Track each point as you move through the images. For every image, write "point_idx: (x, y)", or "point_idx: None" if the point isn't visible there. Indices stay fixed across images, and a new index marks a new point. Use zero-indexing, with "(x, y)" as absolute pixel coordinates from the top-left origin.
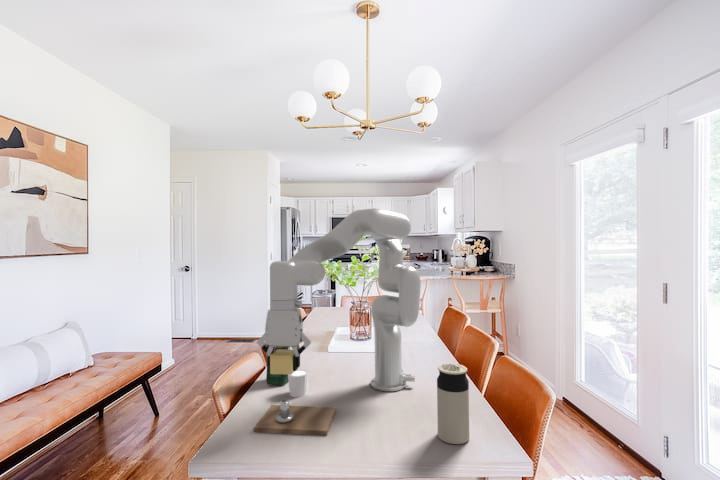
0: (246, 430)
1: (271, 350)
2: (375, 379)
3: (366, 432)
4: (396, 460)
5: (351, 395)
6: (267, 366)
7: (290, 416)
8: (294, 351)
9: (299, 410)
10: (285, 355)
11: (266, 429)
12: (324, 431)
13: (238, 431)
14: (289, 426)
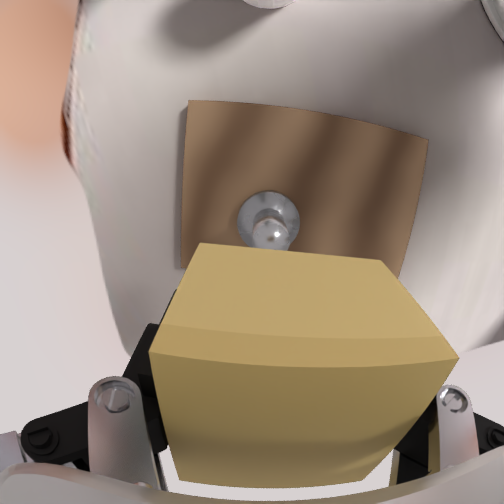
0: (159, 252)
1: (160, 486)
2: (501, 7)
3: (467, 265)
4: (469, 345)
5: (450, 38)
6: None
7: (290, 226)
8: (399, 479)
9: (310, 149)
10: (315, 482)
11: None
12: None
13: (140, 257)
14: None
